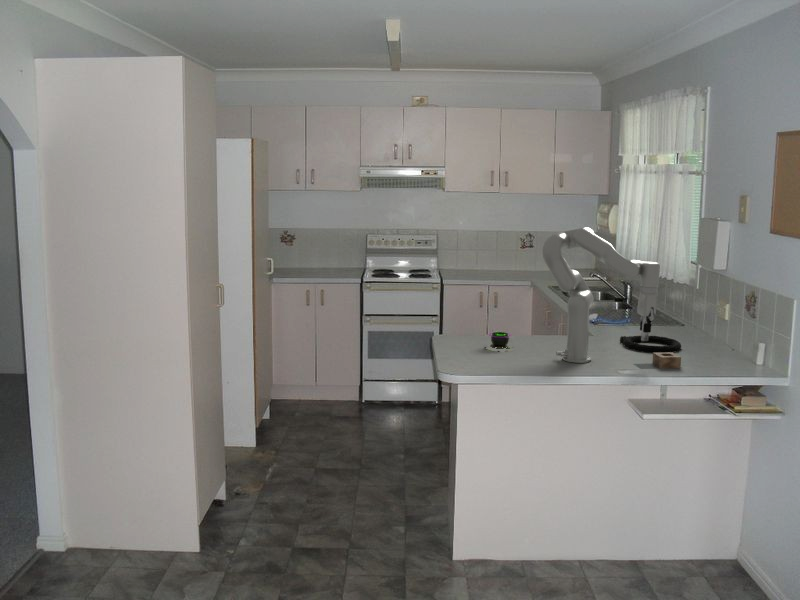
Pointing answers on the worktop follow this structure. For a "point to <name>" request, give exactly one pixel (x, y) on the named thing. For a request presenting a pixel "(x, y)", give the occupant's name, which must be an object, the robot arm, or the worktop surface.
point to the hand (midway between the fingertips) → (645, 331)
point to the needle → (644, 334)
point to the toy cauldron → (499, 340)
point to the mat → (648, 366)
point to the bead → (666, 360)
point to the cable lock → (631, 344)
